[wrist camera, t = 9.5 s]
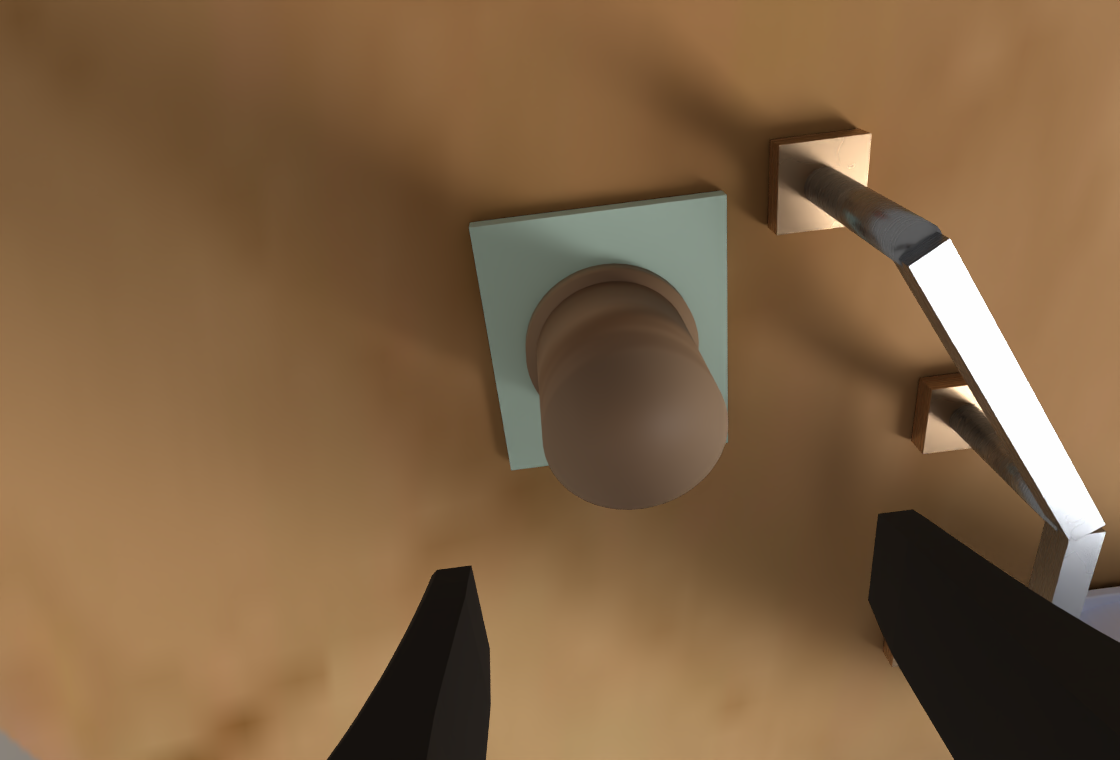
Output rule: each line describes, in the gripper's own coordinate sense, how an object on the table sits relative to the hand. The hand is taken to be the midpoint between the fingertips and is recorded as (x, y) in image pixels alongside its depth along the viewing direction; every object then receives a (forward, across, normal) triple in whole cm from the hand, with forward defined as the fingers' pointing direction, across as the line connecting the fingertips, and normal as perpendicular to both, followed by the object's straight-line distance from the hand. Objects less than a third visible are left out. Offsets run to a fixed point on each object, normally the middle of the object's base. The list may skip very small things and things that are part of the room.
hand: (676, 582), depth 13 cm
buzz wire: (+10, -9, +5) cm, 14 cm away
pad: (+10, 0, 0) cm, 10 cm away
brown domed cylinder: (+10, 0, 0) cm, 10 cm away
